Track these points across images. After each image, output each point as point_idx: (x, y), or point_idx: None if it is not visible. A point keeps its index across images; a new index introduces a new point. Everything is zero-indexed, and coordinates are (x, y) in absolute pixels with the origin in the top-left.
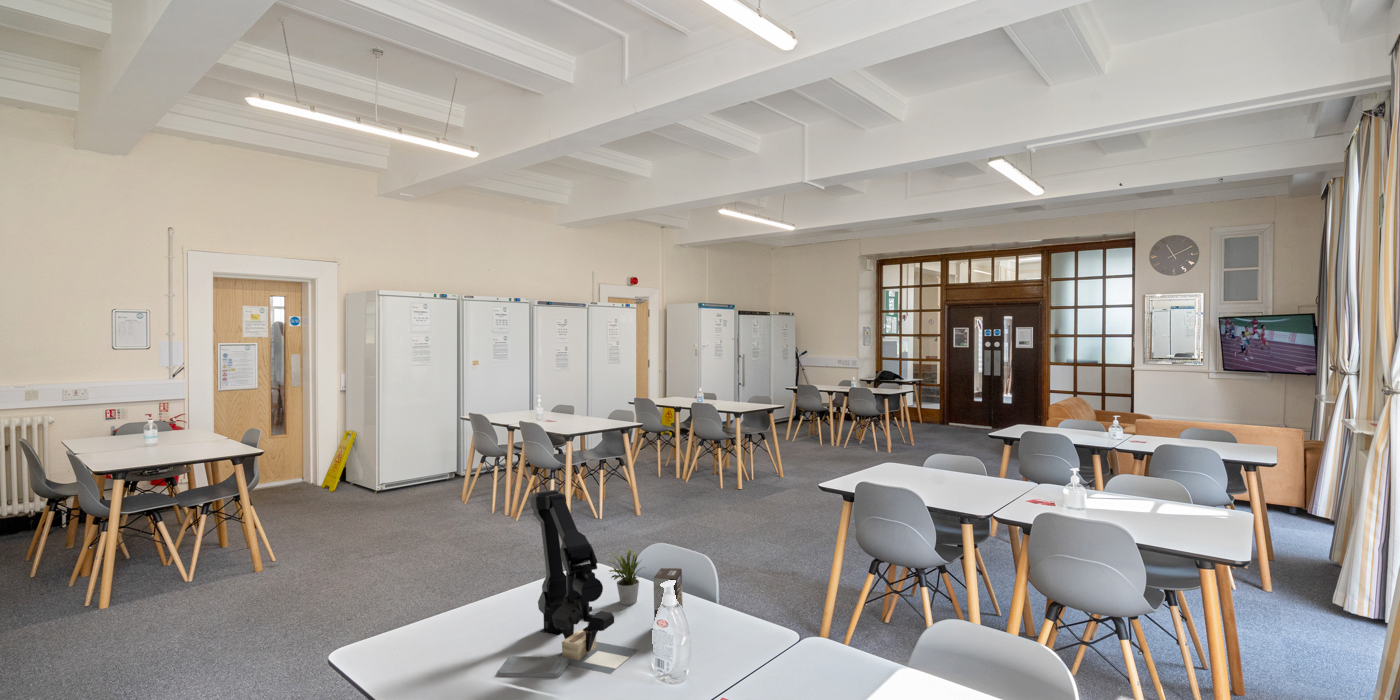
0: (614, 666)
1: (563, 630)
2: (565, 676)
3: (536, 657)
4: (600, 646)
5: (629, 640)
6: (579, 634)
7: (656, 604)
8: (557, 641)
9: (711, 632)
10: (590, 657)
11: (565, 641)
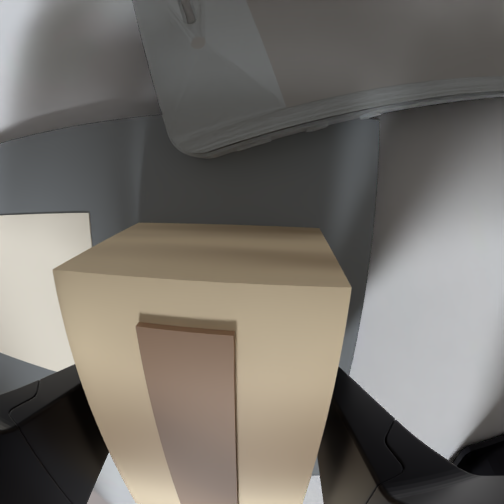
0: None
1: (416, 474)
2: (118, 4)
3: (488, 72)
4: None
5: (107, 480)
6: (226, 480)
7: None
8: (458, 416)
9: None
10: None
11: (294, 311)
